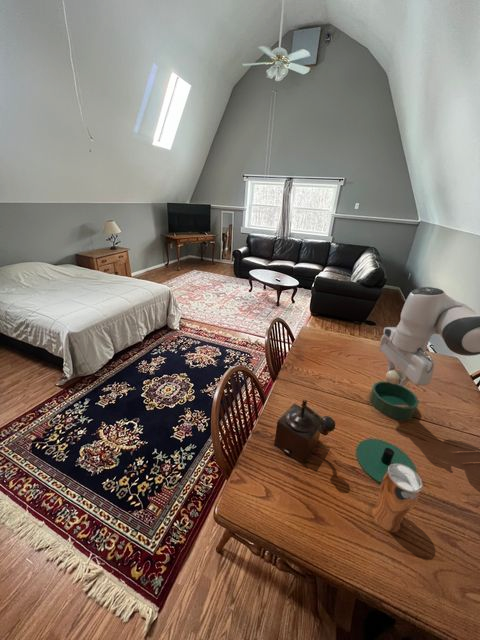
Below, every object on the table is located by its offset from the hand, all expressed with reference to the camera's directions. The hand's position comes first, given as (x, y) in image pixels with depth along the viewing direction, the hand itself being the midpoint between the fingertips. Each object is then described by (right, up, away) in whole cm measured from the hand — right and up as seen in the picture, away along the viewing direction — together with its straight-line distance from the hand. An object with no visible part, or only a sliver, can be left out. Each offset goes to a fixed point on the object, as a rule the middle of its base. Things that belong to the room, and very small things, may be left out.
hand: (396, 378), depth 85 cm
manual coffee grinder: (-31, -20, -5) cm, 37 cm away
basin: (+6, -13, +13) cm, 20 cm away
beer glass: (-15, -28, -22) cm, 39 cm away
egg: (0, -1, +1) cm, 2 cm away
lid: (-8, -22, -9) cm, 25 cm away
